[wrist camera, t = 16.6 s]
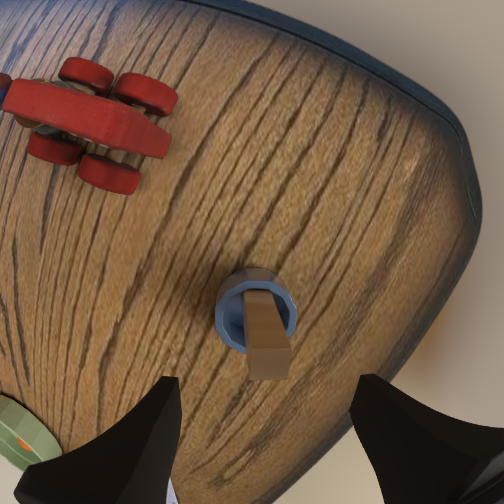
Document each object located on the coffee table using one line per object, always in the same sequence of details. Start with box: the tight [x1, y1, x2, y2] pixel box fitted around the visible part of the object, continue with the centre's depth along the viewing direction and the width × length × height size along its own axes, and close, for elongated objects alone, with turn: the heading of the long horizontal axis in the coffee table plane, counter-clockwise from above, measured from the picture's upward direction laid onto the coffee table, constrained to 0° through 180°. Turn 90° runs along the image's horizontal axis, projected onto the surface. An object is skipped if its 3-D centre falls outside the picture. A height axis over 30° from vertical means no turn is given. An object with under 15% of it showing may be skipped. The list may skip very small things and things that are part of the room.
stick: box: [242, 288, 292, 380], centre depth 15 cm, size 2×2×9 cm
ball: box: [17, 437, 32, 451], centre depth 20 cm, size 3×3×3 cm
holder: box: [215, 267, 297, 354], centre depth 19 cm, size 5×5×3 cm
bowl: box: [0, 394, 62, 472], centre depth 20 cm, size 12×12×4 cm
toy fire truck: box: [0, 57, 178, 195], centre depth 12 cm, size 7×12×10 cm, turn 64°
